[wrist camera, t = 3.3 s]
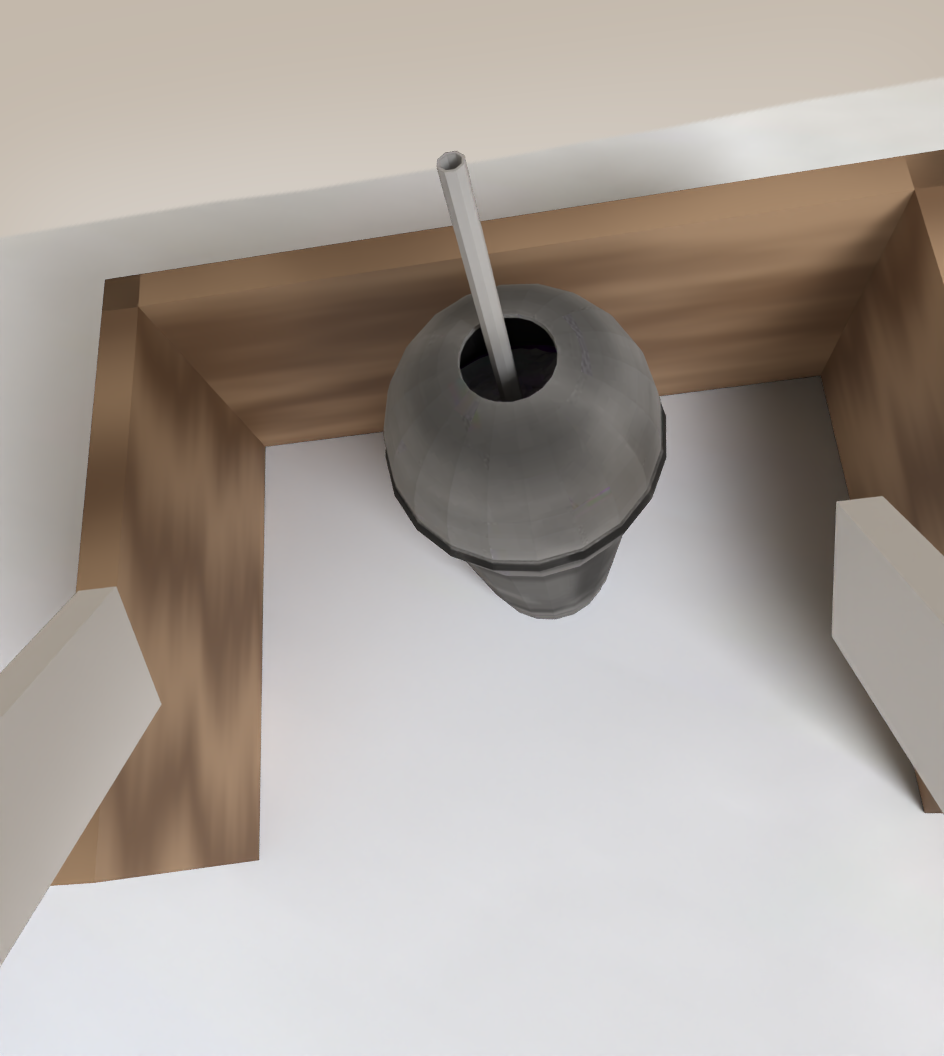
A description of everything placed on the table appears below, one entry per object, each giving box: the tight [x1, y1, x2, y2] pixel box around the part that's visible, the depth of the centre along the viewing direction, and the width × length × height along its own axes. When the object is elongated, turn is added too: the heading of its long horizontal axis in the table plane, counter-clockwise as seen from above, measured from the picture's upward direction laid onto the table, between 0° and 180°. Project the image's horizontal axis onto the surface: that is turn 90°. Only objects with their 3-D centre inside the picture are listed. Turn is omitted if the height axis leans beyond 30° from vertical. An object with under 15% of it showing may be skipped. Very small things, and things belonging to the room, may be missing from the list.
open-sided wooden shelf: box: [50, 150, 944, 886], centre depth 27 cm, size 18×25×10 cm
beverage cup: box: [384, 151, 666, 619], centre depth 23 cm, size 7×7×20 cm
